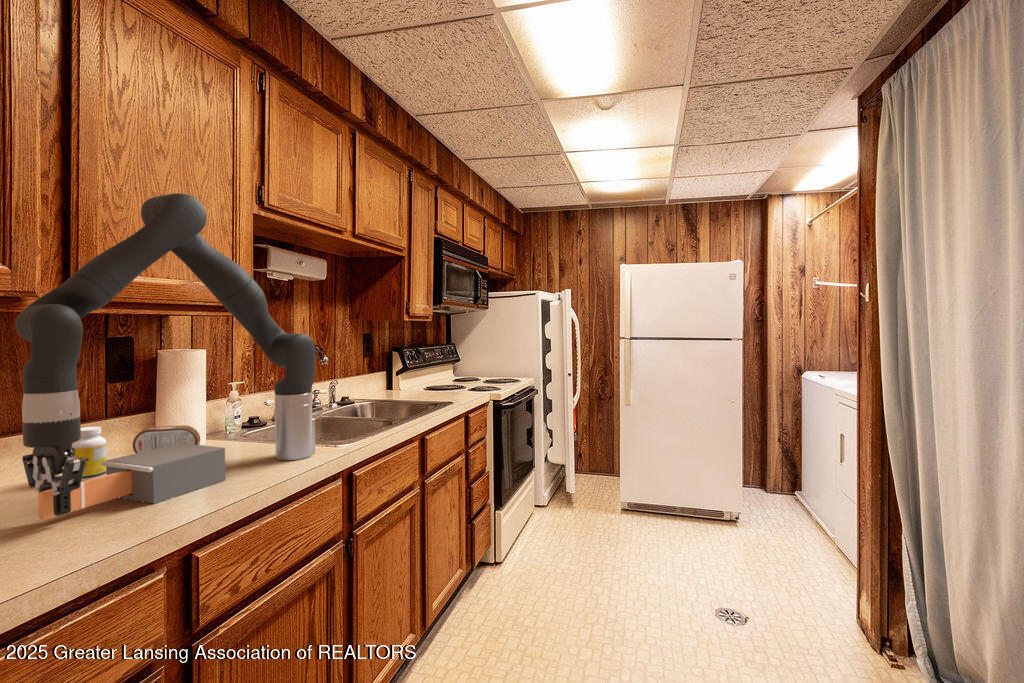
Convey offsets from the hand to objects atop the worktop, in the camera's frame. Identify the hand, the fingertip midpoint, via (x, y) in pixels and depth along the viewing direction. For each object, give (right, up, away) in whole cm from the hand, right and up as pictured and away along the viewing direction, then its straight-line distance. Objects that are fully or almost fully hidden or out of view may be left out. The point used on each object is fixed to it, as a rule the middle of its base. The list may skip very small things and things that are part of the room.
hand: (54, 512), depth 88 cm
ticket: (+2, 0, +7) cm, 7 cm away
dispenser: (+7, -1, +19) cm, 21 cm away
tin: (-12, -1, +45) cm, 47 cm away
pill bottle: (-17, -1, +27) cm, 32 cm away
